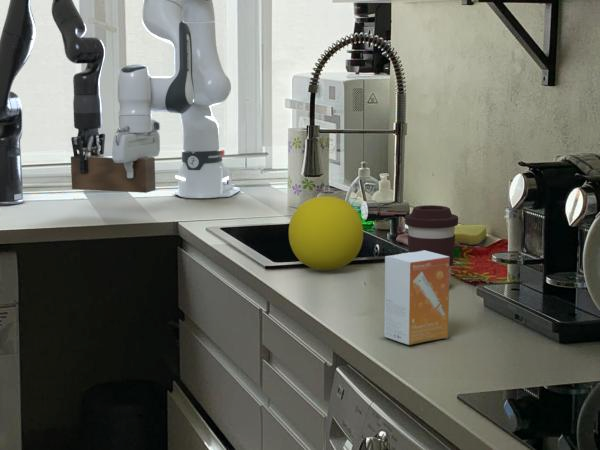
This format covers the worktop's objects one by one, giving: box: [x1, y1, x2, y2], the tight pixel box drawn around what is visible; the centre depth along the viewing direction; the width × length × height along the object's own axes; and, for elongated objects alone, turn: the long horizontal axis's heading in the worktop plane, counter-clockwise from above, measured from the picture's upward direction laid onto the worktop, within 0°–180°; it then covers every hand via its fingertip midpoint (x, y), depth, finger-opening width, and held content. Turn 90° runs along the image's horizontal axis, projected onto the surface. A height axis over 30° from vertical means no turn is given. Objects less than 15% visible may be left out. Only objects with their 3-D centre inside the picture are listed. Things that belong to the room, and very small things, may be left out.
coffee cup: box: [404, 204, 459, 286], centre depth 197 cm, size 10×10×15 cm
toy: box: [288, 195, 364, 271], centre depth 213 cm, size 15×15×15 cm
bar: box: [70, 154, 156, 194], centre depth 288 cm, size 23×5×9 cm, turn 70°
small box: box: [383, 250, 450, 346], centre depth 162 cm, size 8×6×13 cm
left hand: (89, 172), depth 290 cm, fingers closed on bar, 5 cm apart
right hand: (137, 176), depth 285 cm, fingers closed on bar, 5 cm apart
